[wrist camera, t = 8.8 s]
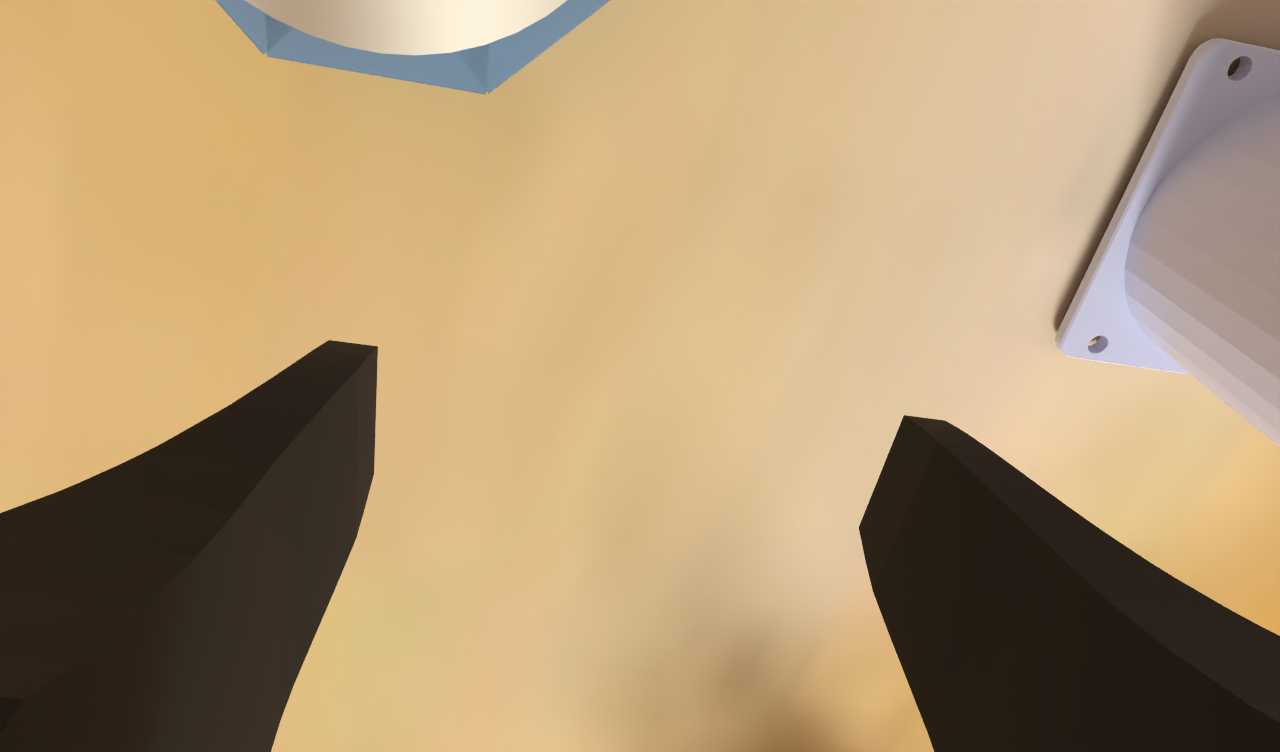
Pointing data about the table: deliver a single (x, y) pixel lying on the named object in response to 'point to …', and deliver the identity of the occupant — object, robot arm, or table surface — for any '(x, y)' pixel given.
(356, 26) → the lid
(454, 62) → the bowl
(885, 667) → the table surface
